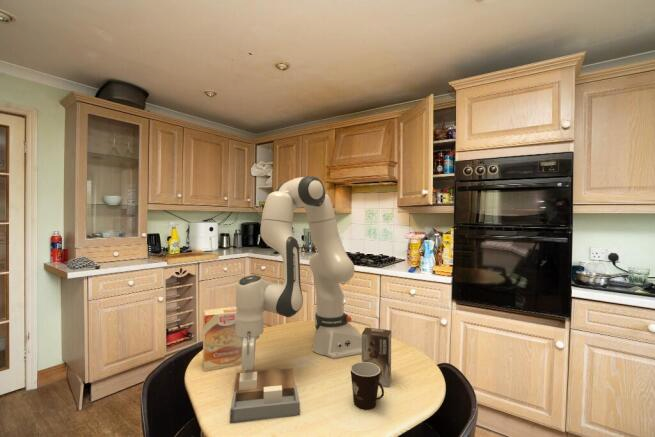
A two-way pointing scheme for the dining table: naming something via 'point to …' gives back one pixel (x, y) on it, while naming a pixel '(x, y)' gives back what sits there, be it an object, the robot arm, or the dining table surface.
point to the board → (267, 384)
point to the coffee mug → (365, 384)
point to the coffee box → (378, 351)
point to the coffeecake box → (220, 339)
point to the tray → (264, 408)
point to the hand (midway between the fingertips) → (249, 369)
